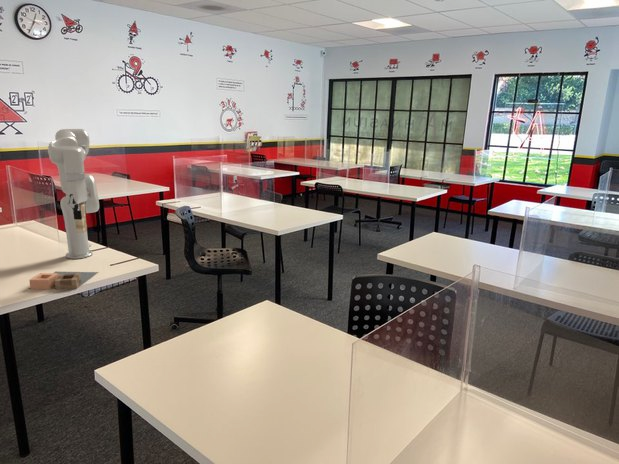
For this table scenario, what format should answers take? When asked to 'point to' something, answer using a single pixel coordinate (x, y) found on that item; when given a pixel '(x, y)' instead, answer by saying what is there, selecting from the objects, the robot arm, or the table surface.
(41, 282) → the salmon pink square box
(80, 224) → the beige wooden post
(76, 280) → the brown square ring
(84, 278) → the charcoal mat
